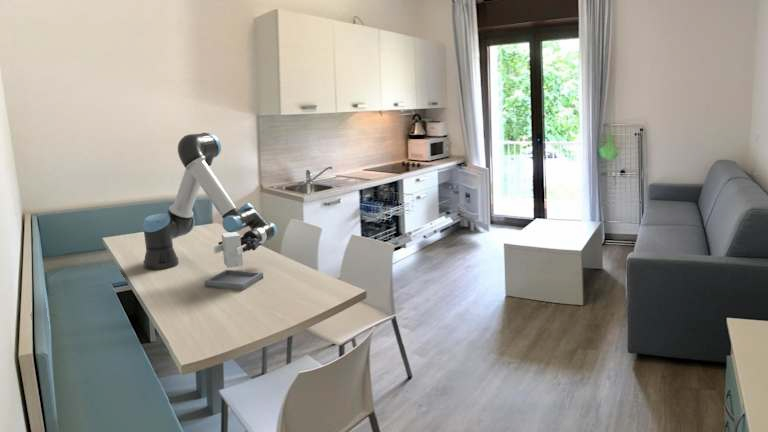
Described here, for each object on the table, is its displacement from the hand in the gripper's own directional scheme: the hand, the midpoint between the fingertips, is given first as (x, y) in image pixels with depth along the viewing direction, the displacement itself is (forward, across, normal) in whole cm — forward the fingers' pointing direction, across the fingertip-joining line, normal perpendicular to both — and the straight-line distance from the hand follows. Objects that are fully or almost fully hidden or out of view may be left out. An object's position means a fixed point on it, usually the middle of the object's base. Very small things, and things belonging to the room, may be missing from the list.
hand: (226, 251), depth 225 cm
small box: (-4, 0, -7) cm, 8 cm away
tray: (-4, 0, -15) cm, 15 cm away
